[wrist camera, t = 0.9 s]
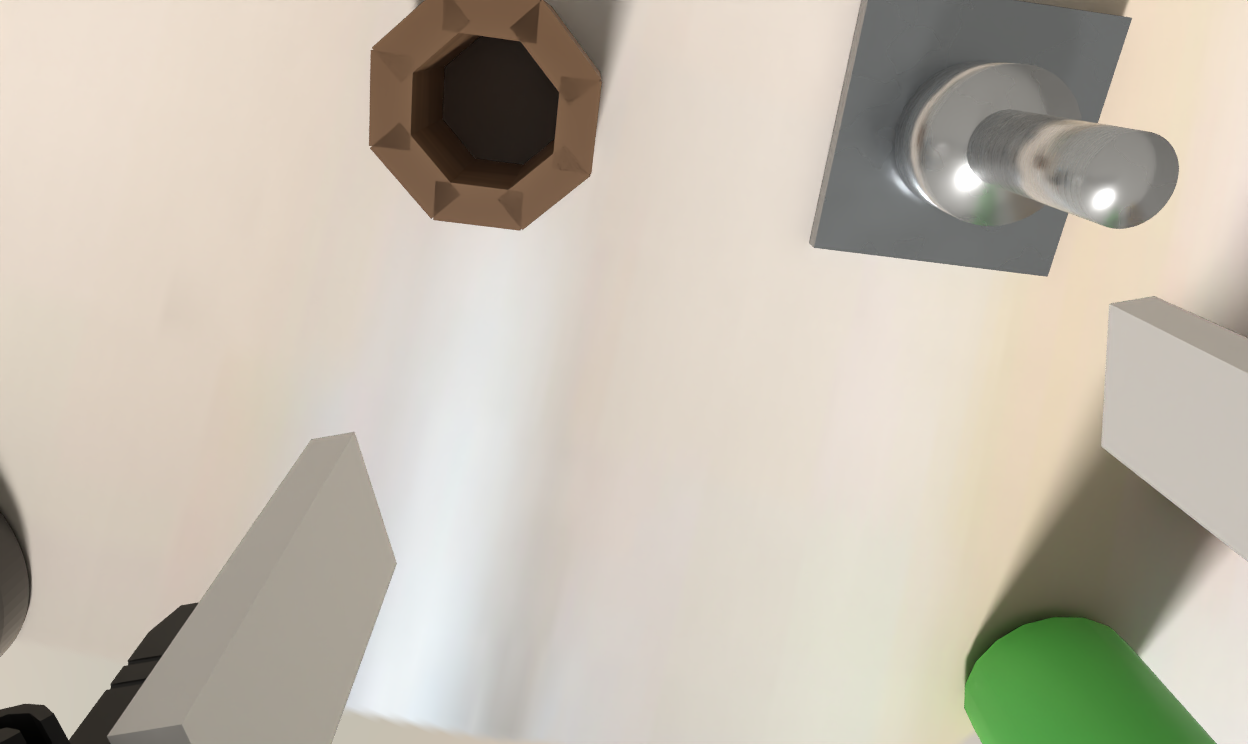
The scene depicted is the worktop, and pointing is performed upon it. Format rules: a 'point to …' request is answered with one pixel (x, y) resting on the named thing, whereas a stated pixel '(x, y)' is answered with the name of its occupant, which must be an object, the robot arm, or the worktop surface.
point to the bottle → (1072, 690)
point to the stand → (982, 135)
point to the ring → (429, 149)
